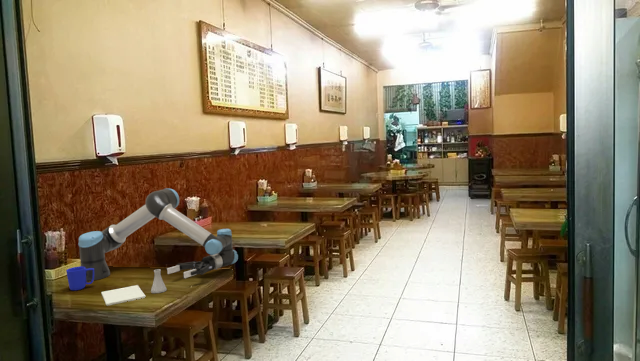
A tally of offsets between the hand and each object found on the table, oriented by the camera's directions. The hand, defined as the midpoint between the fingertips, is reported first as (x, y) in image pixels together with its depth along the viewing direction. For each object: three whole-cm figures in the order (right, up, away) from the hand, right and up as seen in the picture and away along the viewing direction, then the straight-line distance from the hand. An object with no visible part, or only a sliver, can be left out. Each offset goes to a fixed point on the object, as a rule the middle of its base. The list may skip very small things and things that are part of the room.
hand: (175, 273), depth 221 cm
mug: (-47, -8, +3) cm, 48 cm away
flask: (-6, -7, -7) cm, 11 cm away
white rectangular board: (-21, -8, -11) cm, 25 cm away
